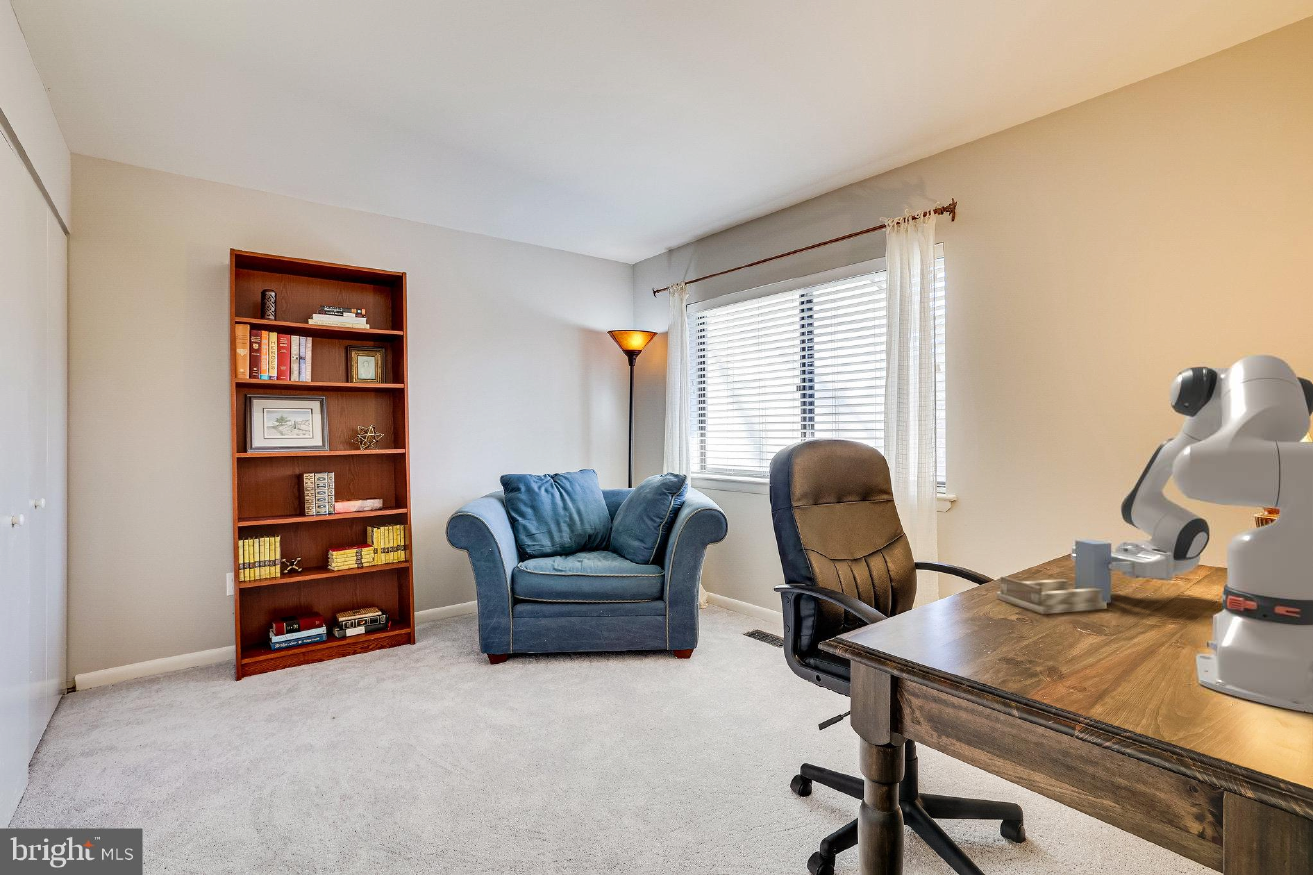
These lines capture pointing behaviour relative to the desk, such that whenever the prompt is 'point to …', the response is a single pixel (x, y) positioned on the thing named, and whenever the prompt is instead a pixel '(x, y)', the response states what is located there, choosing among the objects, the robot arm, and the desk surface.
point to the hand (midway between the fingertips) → (1091, 562)
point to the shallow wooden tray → (1049, 596)
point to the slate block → (1093, 566)
